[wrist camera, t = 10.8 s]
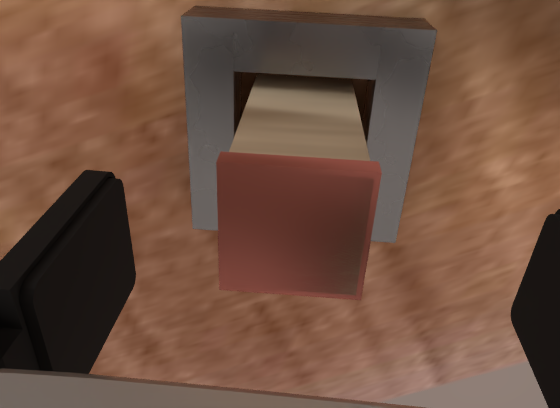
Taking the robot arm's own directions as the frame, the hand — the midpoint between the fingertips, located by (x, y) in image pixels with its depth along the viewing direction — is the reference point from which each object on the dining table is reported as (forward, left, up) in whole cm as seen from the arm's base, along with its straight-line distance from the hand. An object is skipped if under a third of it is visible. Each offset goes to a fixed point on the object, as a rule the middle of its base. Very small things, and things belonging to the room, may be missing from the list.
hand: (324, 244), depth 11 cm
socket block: (-1, +1, -9) cm, 9 cm away
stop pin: (-1, +1, -9) cm, 9 cm away
